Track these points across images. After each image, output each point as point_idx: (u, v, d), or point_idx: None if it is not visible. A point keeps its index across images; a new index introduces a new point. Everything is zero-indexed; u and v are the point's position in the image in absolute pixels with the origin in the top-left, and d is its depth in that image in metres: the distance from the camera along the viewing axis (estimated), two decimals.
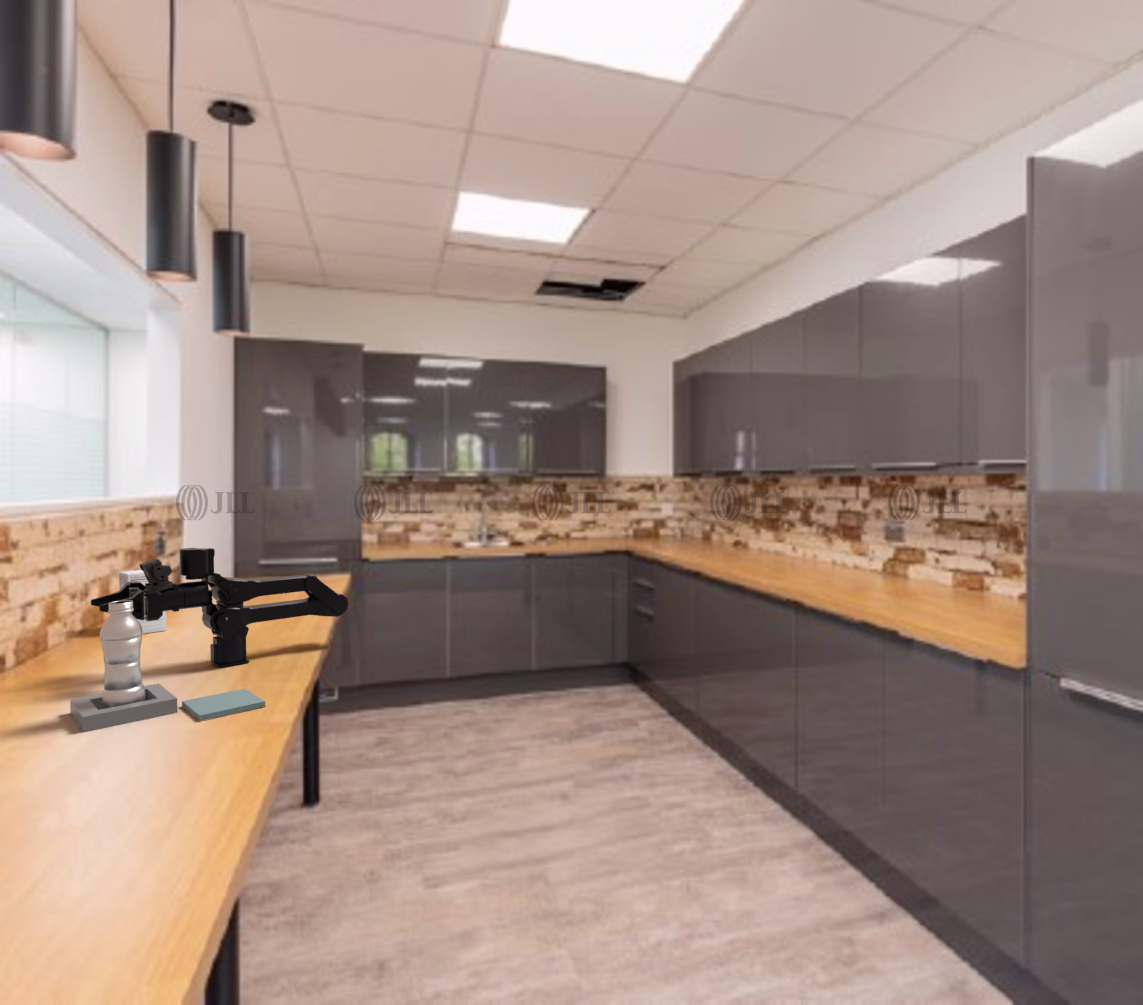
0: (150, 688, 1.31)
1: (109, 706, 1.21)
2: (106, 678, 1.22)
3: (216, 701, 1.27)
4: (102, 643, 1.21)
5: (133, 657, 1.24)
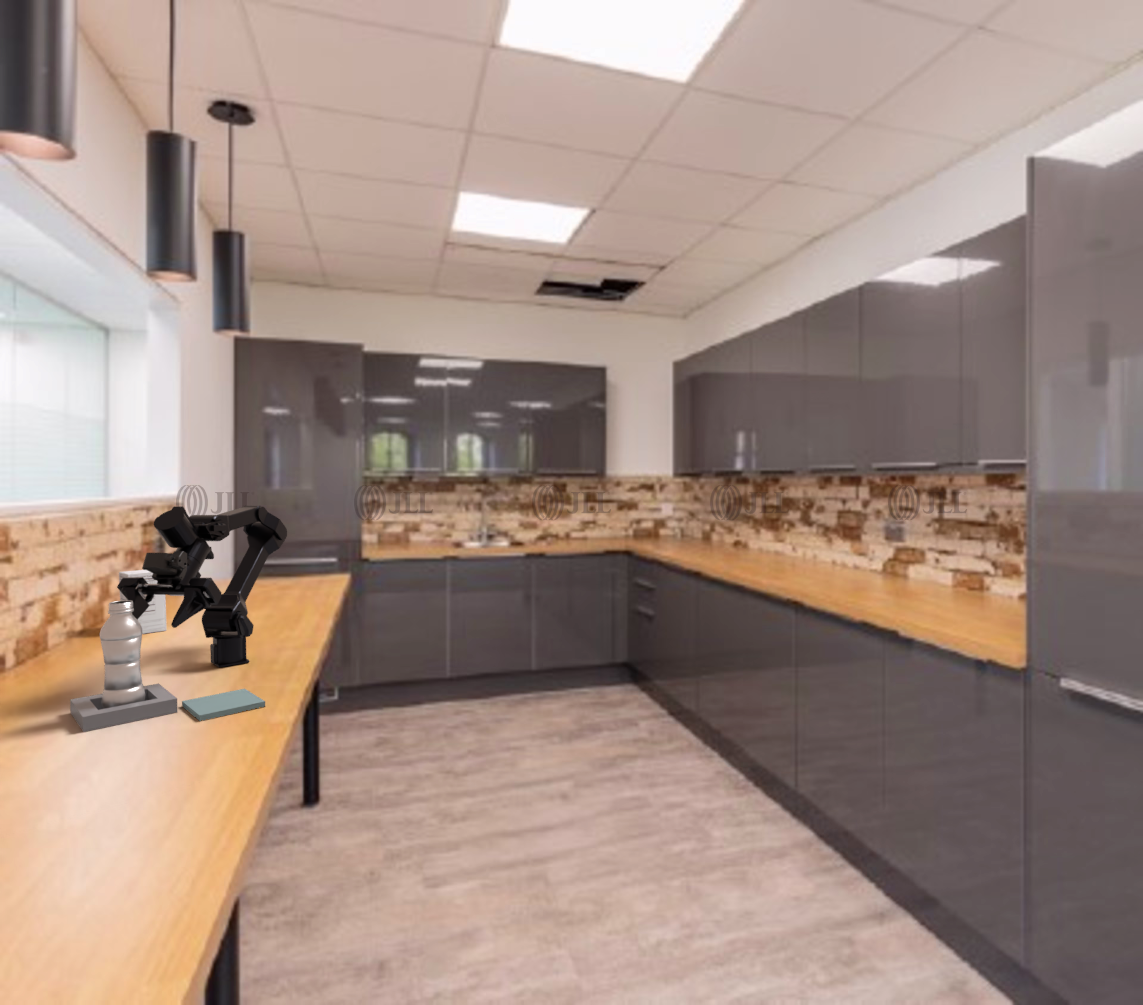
0: (150, 688, 1.31)
1: (109, 706, 1.21)
2: (106, 678, 1.22)
3: (216, 701, 1.27)
4: (102, 643, 1.21)
5: (133, 657, 1.24)
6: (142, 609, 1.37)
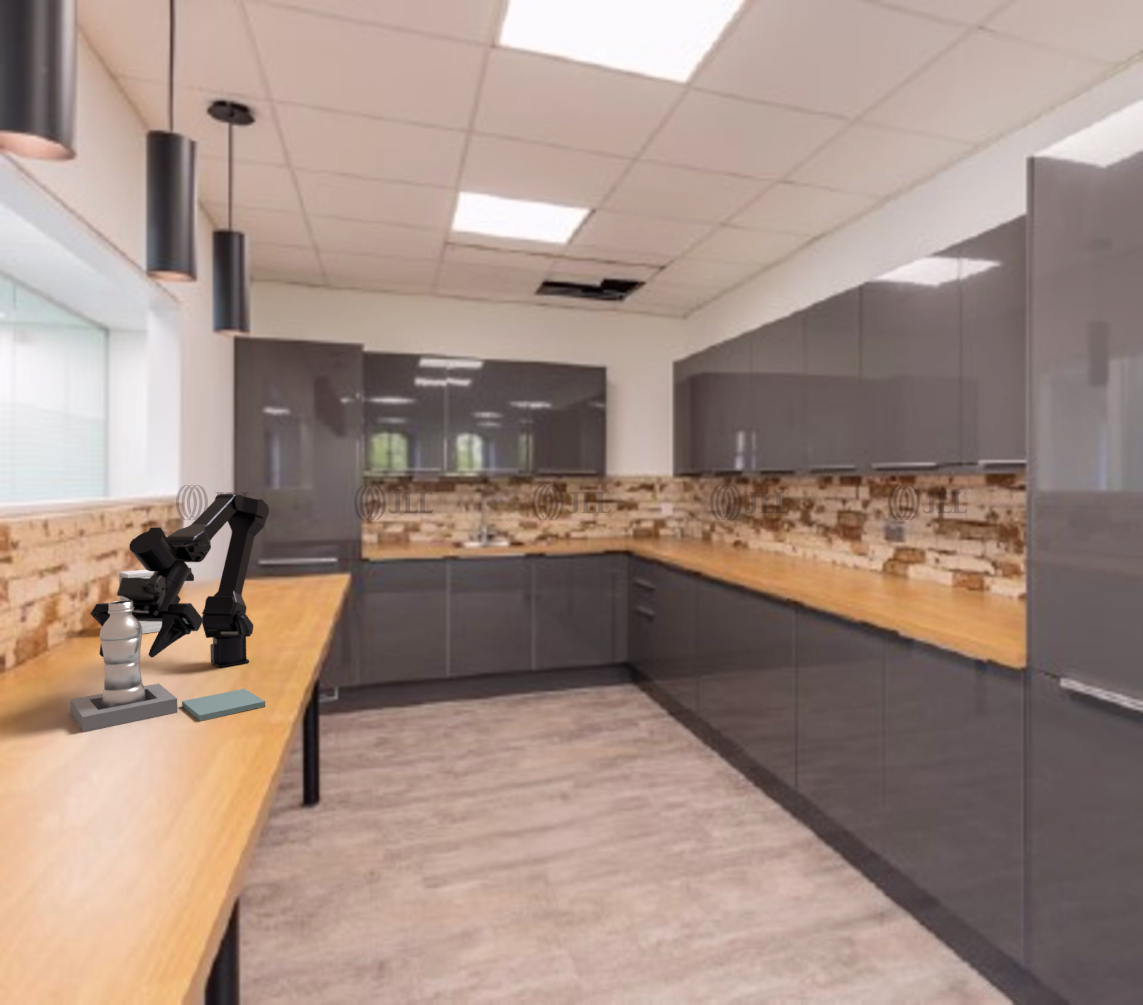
0: (150, 688, 1.31)
1: (109, 706, 1.21)
2: (106, 678, 1.22)
3: (216, 701, 1.27)
4: (102, 643, 1.21)
5: (133, 657, 1.24)
6: None
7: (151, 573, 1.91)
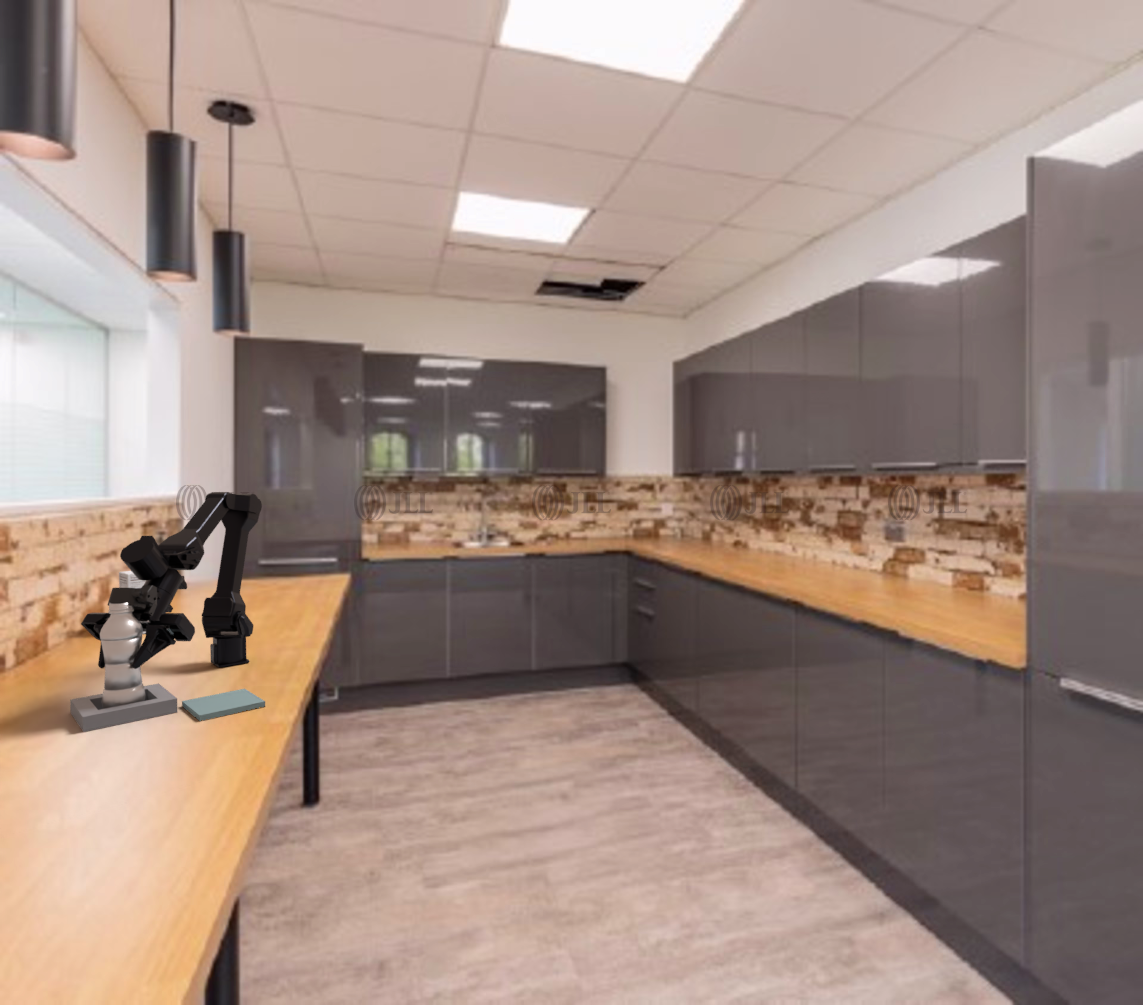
0: (150, 688, 1.31)
1: (109, 706, 1.21)
2: (106, 678, 1.22)
3: (216, 701, 1.27)
4: (102, 643, 1.21)
5: (133, 657, 1.24)
6: None
7: None
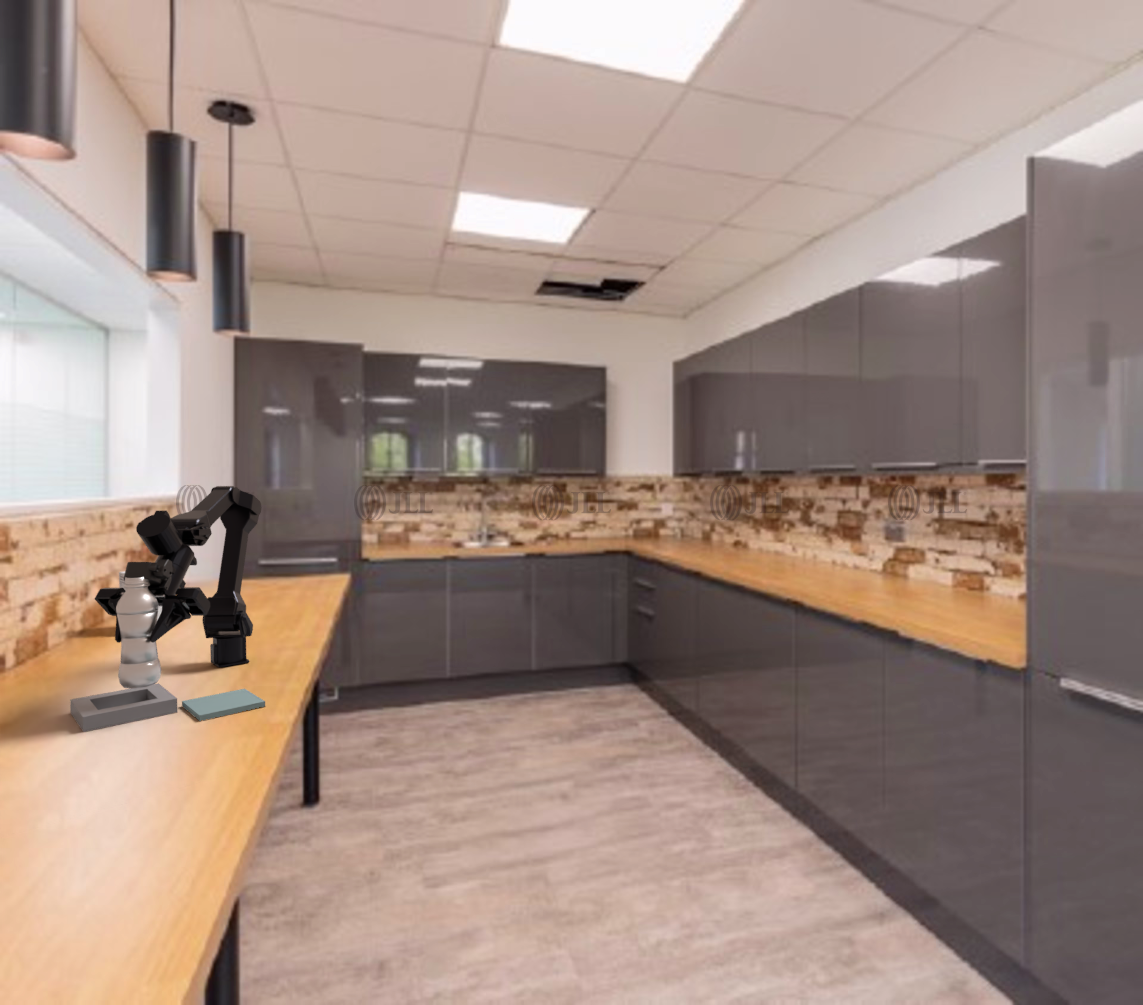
0: (150, 688, 1.31)
1: (126, 680, 1.21)
2: (123, 652, 1.22)
3: (216, 701, 1.27)
4: (119, 617, 1.21)
5: (150, 631, 1.24)
6: None
7: None
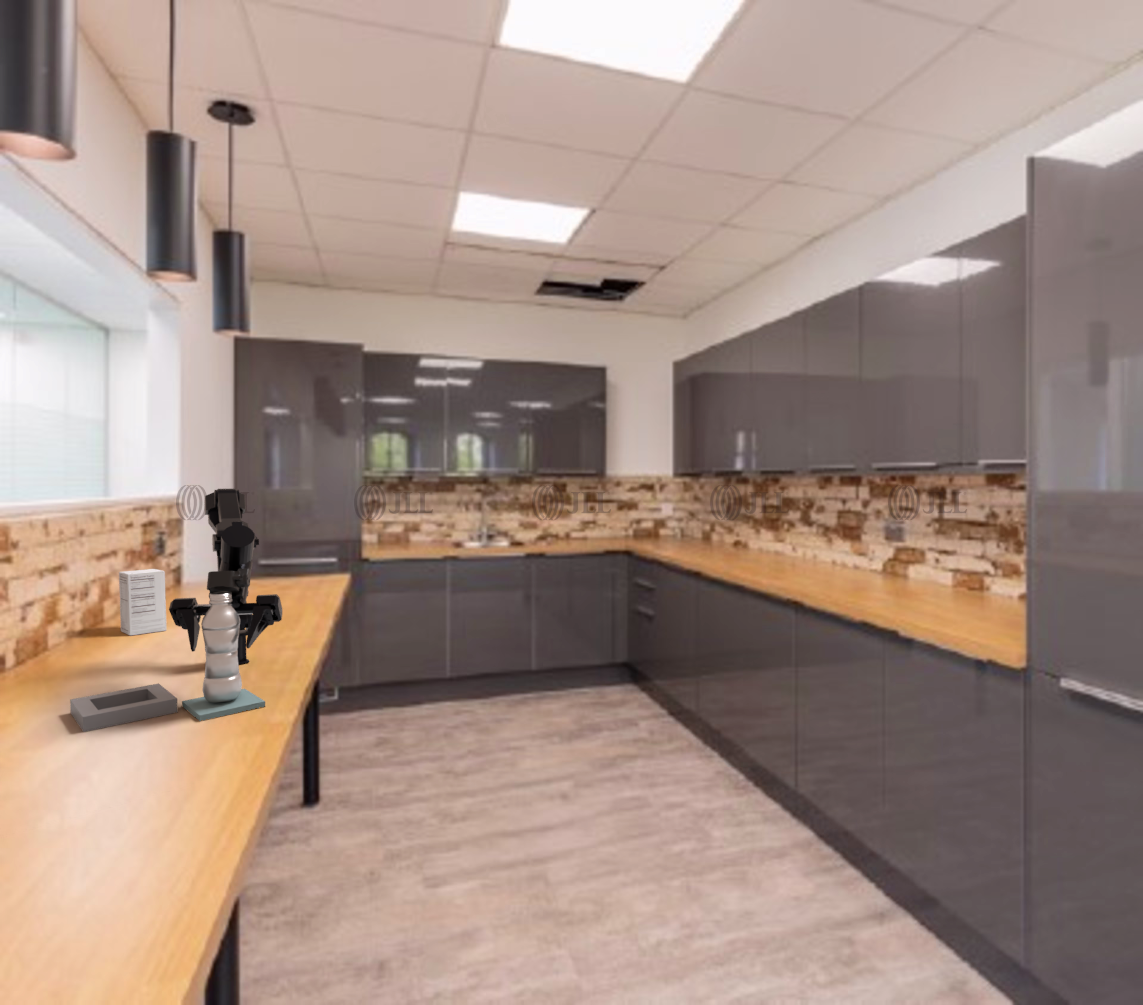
0: (150, 688, 1.31)
1: (216, 694, 1.24)
2: (211, 667, 1.25)
3: None
4: (208, 633, 1.24)
5: (235, 646, 1.27)
6: (197, 631, 1.29)
7: (151, 573, 1.91)
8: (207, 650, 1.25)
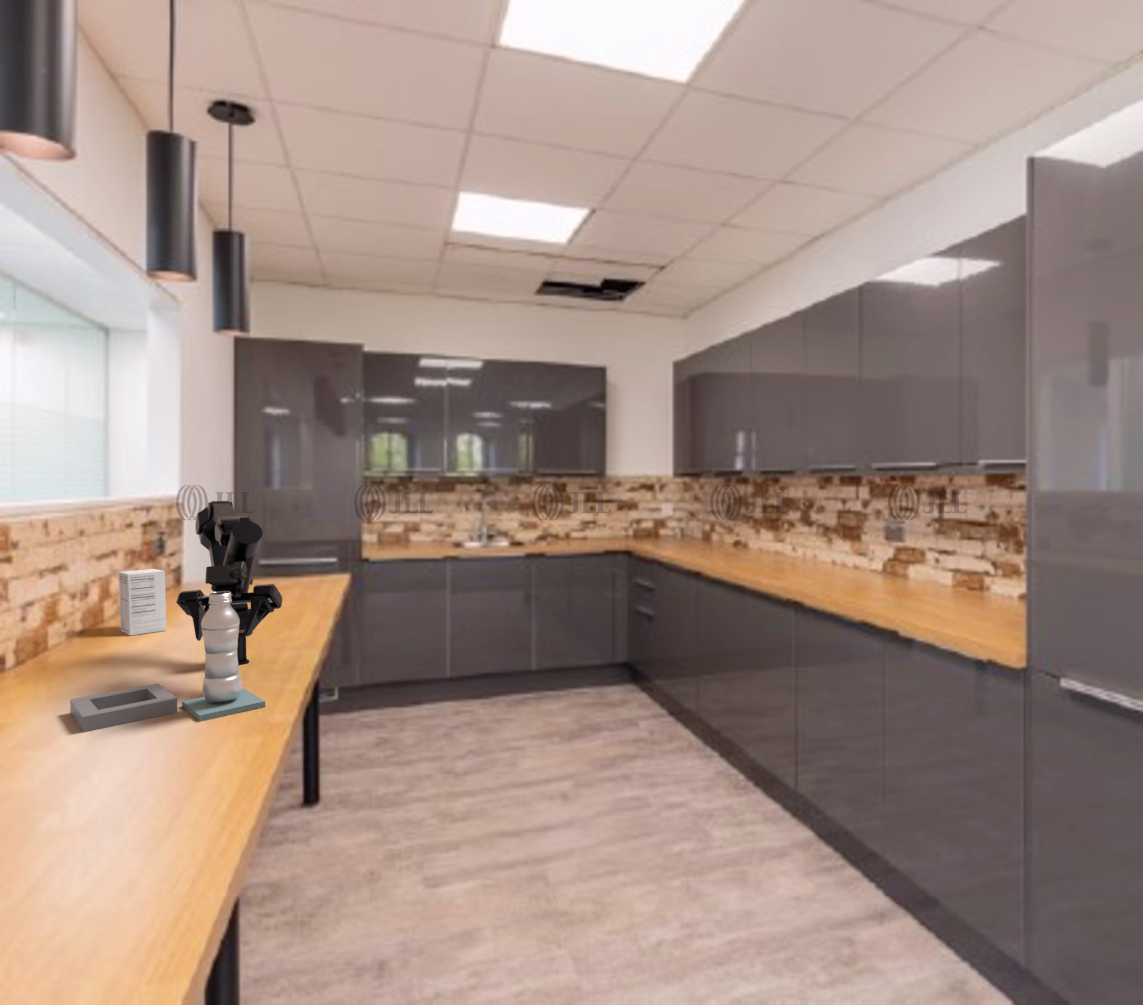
0: (150, 688, 1.31)
1: (216, 694, 1.24)
2: (210, 667, 1.25)
3: None
4: (207, 633, 1.24)
5: (235, 646, 1.27)
6: None
7: (151, 573, 1.91)
8: (207, 650, 1.25)
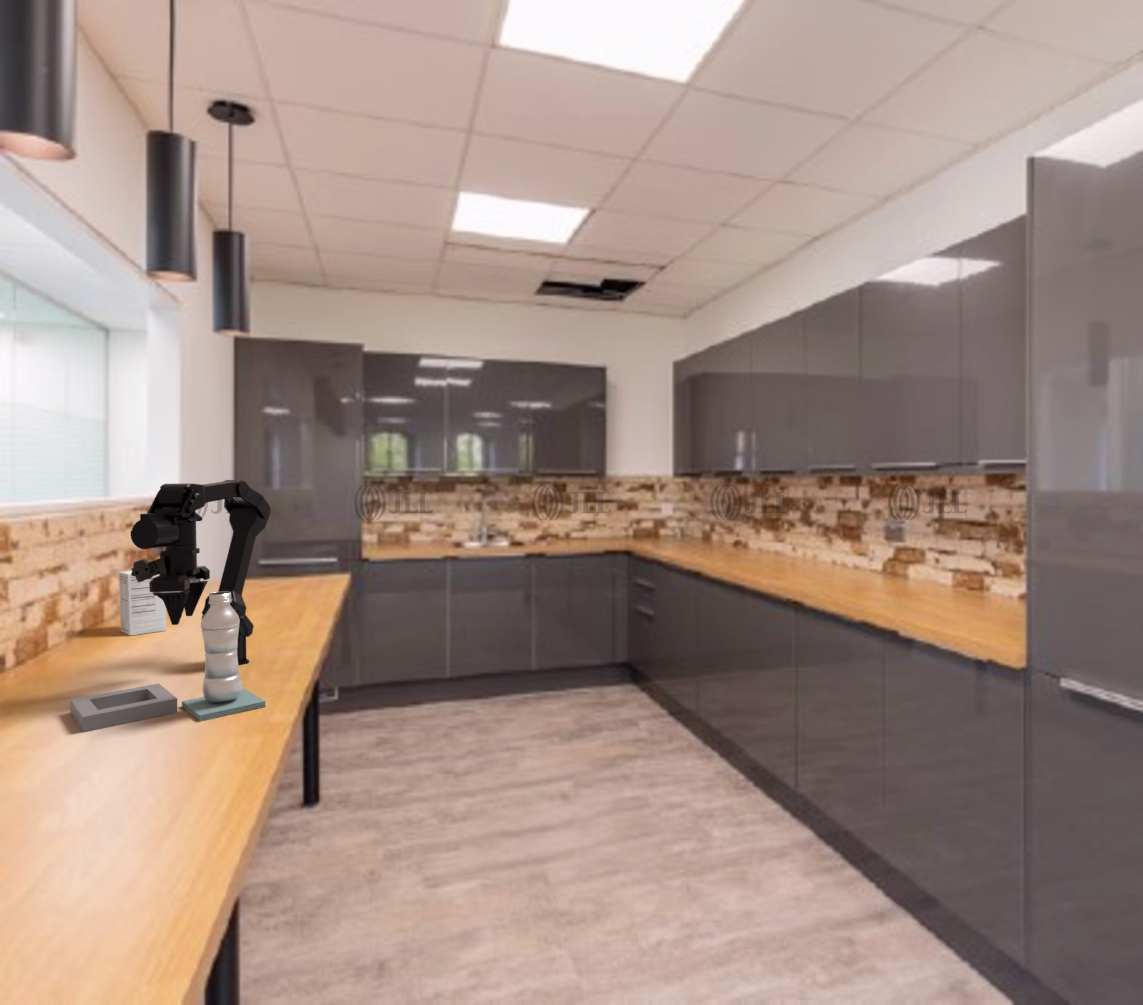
0: (150, 688, 1.31)
1: (216, 694, 1.24)
2: (210, 667, 1.25)
3: None
4: (207, 633, 1.24)
5: (235, 646, 1.27)
6: (196, 592, 1.47)
7: None
8: (207, 650, 1.25)
